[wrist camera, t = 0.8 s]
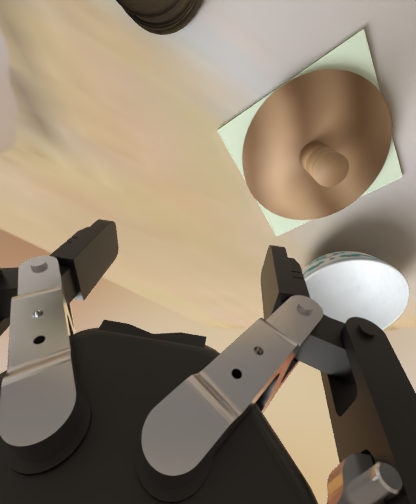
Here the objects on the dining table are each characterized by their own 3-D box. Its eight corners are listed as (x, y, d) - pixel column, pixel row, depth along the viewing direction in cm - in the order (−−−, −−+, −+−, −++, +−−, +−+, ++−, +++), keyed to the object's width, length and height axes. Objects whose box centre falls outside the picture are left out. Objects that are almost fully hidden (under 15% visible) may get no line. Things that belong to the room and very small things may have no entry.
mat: (361, 30, 25) (363, 28, 25) (400, 176, 32) (402, 177, 31) (217, 129, 31) (217, 130, 31) (275, 234, 38) (276, 236, 38)
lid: (363, 28, 25) (411, 4, 18) (402, 177, 31) (447, 199, 25) (217, 130, 31) (211, 140, 24) (276, 236, 38) (285, 267, 31)
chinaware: (393, 229, 36) (428, 258, 29) (367, 306, 44) (389, 343, 37) (285, 231, 38) (296, 260, 31) (278, 305, 46) (285, 340, 39)
